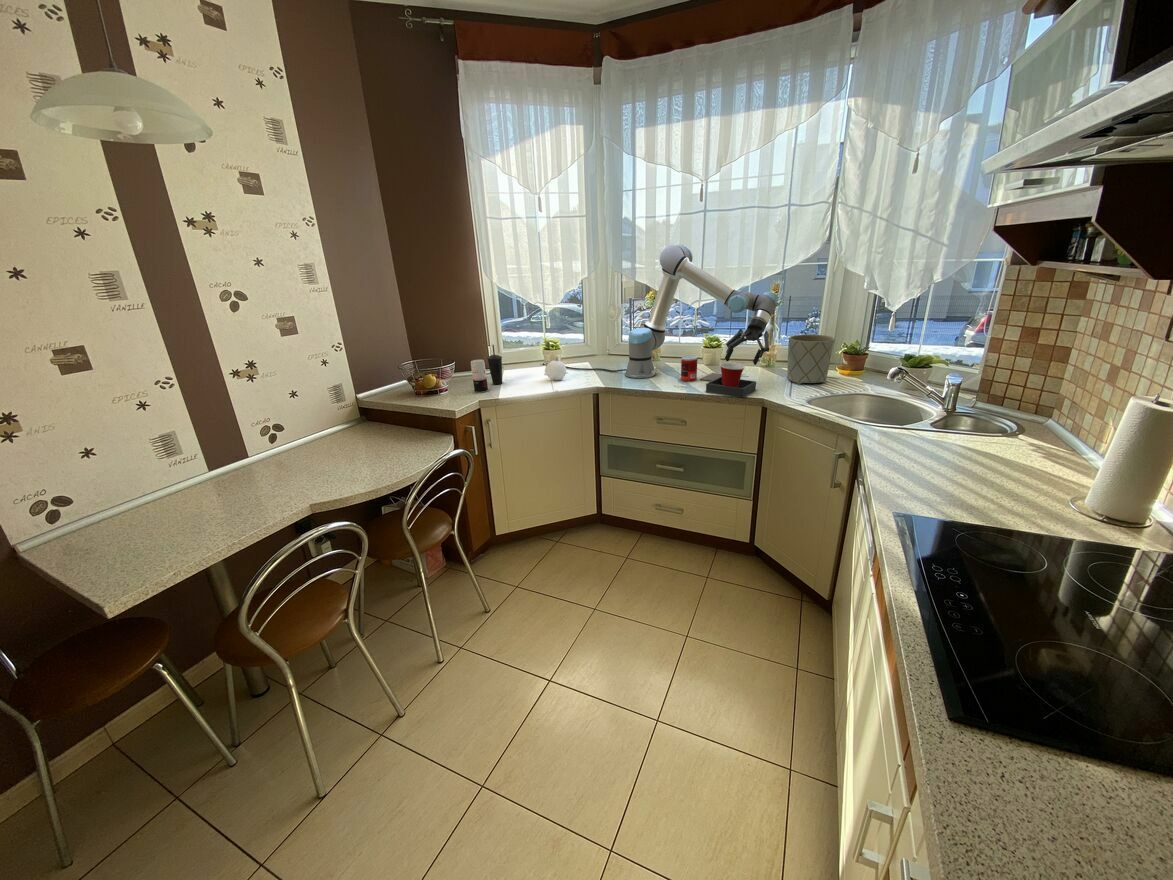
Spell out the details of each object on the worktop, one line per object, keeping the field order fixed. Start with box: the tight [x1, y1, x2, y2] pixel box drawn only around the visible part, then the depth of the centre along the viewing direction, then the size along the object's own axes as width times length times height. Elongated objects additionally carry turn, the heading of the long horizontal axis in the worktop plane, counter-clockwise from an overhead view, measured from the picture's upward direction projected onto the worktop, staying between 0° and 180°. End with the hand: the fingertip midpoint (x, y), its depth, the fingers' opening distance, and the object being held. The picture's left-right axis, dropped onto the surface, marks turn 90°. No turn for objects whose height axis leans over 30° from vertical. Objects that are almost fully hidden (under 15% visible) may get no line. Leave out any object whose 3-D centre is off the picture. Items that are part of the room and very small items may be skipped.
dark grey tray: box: [705, 377, 757, 399], centre depth 213 cm, size 17×14×4 cm
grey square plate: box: [699, 372, 722, 382], centre depth 235 cm, size 14×14×1 cm
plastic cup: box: [719, 362, 746, 388], centre depth 211 cm, size 11×11×12 cm
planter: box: [786, 334, 836, 385], centre depth 220 cm, size 19×19×20 cm
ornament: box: [545, 356, 567, 381], centre depth 245 cm, size 10×10×12 cm
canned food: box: [680, 355, 698, 382], centre depth 234 cm, size 8×8×11 cm
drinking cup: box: [486, 344, 503, 386], centre depth 242 cm, size 8×8×20 cm
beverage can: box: [470, 359, 489, 394], centre depth 231 cm, size 6×6×15 cm
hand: (740, 361), depth 213 cm, fingers open, 13 cm apart
